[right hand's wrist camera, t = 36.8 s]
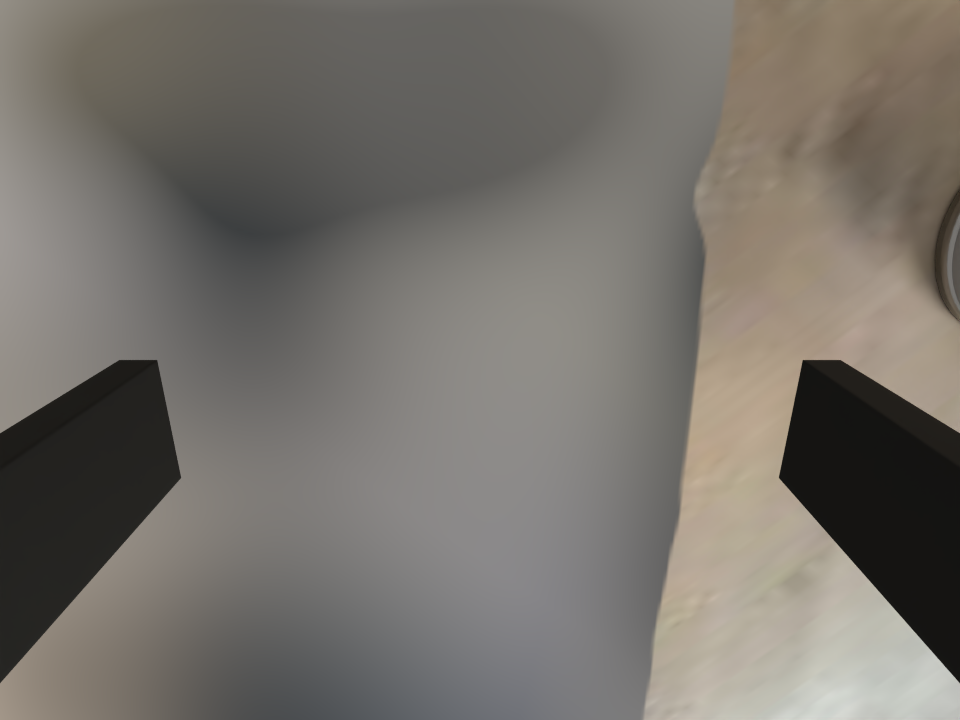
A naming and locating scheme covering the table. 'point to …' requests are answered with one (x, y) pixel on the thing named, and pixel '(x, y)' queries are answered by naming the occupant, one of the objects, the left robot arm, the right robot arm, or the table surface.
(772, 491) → the table surface
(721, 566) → the table surface
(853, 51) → the table surface
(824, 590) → the table surface
